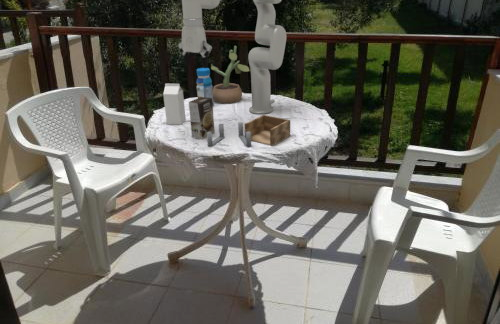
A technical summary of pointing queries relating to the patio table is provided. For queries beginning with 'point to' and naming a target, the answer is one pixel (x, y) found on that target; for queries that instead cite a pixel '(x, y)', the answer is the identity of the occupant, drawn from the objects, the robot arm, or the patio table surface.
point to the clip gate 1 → (221, 133)
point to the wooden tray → (268, 129)
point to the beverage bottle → (204, 83)
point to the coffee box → (201, 117)
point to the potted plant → (228, 90)
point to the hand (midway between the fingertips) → (196, 65)
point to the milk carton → (174, 104)
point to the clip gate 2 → (248, 136)
